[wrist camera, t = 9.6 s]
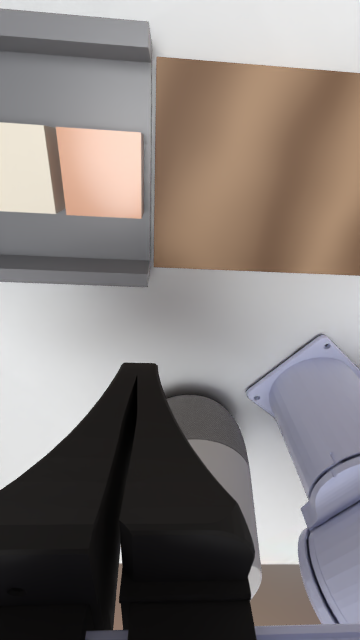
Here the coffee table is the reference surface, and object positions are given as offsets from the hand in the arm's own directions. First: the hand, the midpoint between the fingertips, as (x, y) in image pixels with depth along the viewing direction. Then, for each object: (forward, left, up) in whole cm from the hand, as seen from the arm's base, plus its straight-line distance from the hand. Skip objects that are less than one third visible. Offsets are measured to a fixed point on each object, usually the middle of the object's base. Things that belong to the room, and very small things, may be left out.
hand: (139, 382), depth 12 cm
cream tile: (+10, -1, -10) cm, 14 cm away
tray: (+9, -2, -10) cm, 13 cm away
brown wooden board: (-2, -11, -10) cm, 15 cm away
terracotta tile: (+6, -4, -10) cm, 12 cm away
